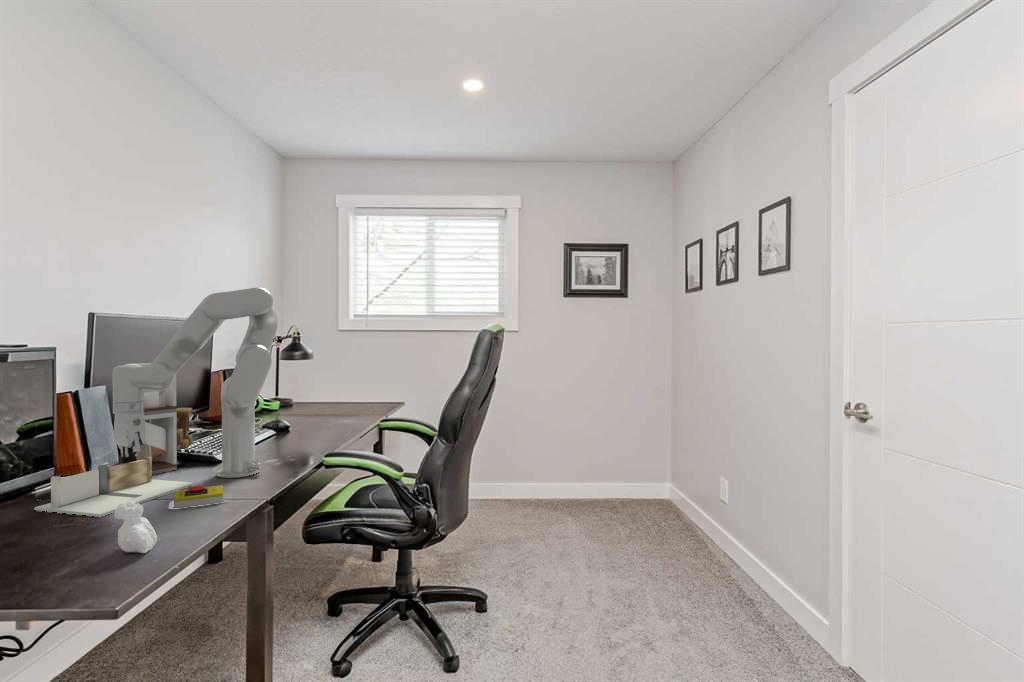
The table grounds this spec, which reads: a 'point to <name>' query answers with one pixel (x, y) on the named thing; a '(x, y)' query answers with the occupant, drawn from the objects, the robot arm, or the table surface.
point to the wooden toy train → (183, 428)
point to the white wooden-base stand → (160, 427)
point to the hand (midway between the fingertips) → (129, 469)
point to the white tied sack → (134, 529)
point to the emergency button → (198, 496)
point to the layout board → (117, 498)
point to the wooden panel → (129, 474)
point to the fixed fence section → (78, 486)
